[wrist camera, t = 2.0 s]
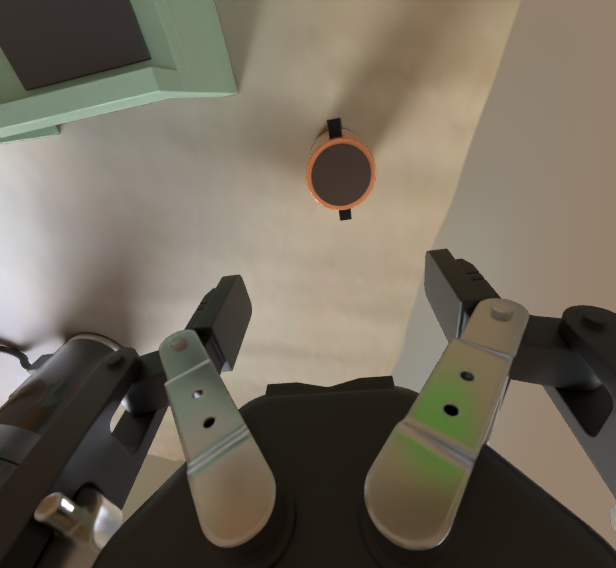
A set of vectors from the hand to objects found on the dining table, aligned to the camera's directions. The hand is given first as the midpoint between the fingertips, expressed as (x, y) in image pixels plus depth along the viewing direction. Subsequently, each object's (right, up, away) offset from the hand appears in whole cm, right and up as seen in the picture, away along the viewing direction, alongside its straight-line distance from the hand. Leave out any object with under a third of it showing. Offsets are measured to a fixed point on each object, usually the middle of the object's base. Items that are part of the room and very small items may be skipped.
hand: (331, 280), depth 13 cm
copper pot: (+2, +12, +16) cm, 20 cm away
